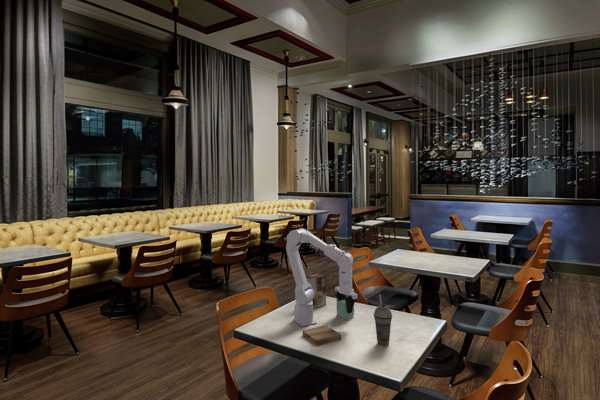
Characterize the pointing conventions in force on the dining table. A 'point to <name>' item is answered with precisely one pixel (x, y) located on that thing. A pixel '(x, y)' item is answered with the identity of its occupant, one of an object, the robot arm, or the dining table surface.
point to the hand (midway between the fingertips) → (346, 310)
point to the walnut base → (322, 335)
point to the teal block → (344, 309)
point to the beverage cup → (383, 324)
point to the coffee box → (318, 289)
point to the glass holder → (342, 316)
